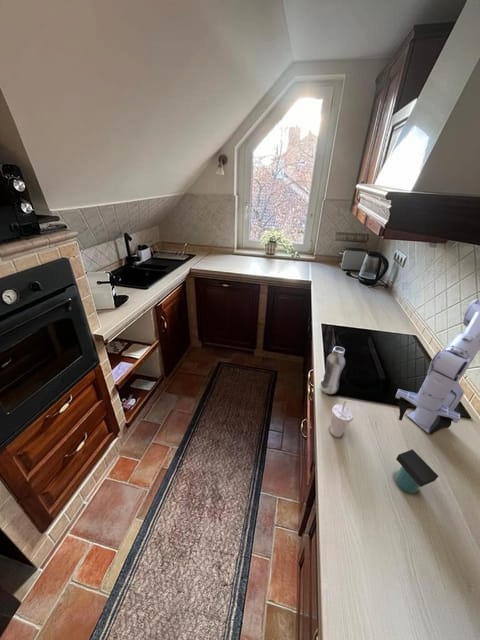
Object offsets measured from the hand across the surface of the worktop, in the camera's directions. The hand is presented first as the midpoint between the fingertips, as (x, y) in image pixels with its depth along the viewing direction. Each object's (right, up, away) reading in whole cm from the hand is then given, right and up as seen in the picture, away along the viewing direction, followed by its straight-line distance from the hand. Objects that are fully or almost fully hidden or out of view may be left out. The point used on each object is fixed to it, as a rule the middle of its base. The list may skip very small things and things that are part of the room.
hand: (415, 424), depth 74 cm
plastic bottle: (-17, +3, +25) cm, 31 cm away
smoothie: (-20, -6, +9) cm, 23 cm away
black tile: (-5, -9, -8) cm, 13 cm away
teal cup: (-5, -14, -4) cm, 16 cm away
